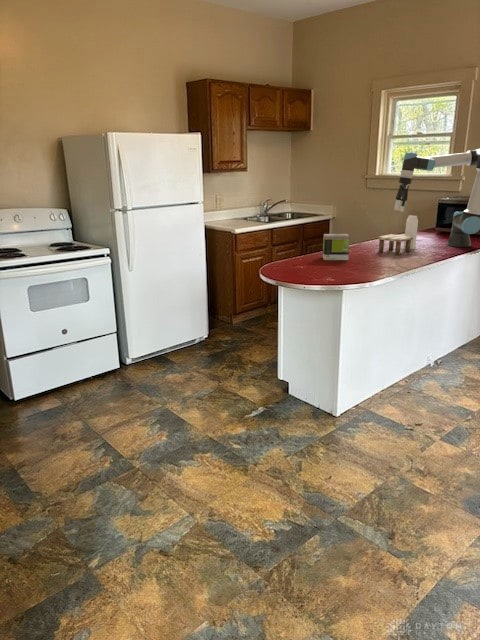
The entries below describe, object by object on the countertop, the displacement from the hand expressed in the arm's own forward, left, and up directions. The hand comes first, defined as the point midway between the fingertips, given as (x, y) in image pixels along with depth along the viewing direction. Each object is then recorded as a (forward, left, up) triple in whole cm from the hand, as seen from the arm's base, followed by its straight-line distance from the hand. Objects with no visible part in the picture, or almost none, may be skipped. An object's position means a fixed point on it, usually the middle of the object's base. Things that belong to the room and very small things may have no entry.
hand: (398, 210), depth 325 cm
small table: (-7, +12, -25) cm, 29 cm away
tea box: (+6, +57, -25) cm, 63 cm away
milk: (-7, -7, -25) cm, 27 cm away
